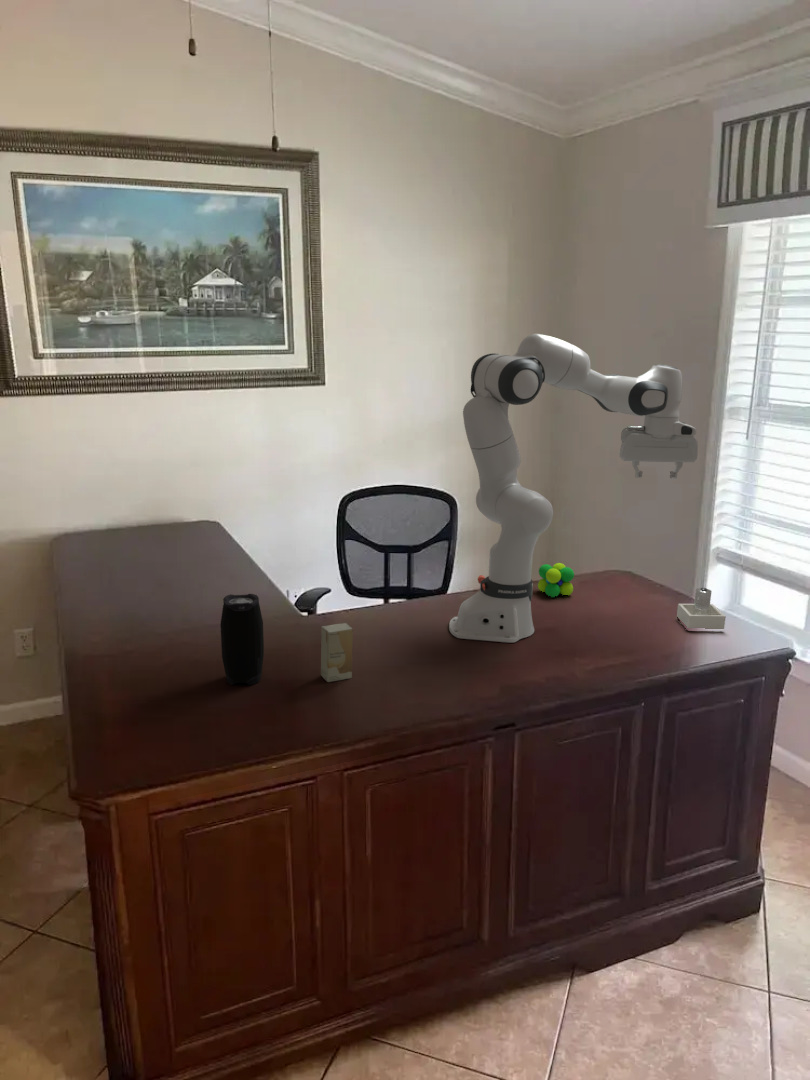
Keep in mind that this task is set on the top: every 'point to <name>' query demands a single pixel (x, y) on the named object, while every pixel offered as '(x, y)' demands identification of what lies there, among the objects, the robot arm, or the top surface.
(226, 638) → the portable speaker
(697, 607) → the cylinder
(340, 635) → the skincare box
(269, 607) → the top surface
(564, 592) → the molecule model
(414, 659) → the top surface
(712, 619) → the cream square tray
